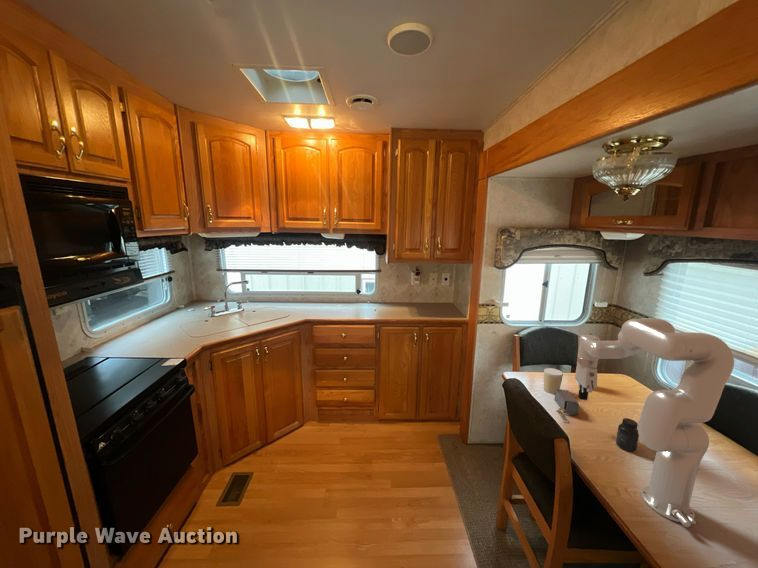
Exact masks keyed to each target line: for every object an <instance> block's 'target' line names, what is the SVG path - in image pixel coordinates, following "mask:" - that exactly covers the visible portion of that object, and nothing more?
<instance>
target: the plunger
mask: <svg viewBox="0 0 758 568" xmlns="http://www.w3.org/2000/svg"><path fill="white" fill-rule="evenodd" d="M579 407H580V404H579V402H578V403H574V402H567V407H566V409H562V408H560V407H558V408H557V410H560V411H562V410H564V411H566V415H574V416H578V414H579Z"/></svg>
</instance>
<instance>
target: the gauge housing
mask: <svg viewBox="0 0 758 568" xmlns="http://www.w3.org/2000/svg"><path fill="white" fill-rule="evenodd" d="M554 401H555V403H556V404H557V406H558V408H562V409H566V407H567V402H574V403H579V401H578V400H577V399H576V398H575V397H574V395H573V394H572V393H571V392H570V391H569V390H567V389H560V390H559V389H556V392H555V394H554ZM555 412H556V414H557V415H558V417H559V418H560V419H561V421H562V422H563V423H567V424H568V423H569V420H568V418H567V417H566V415H565V414H564V413H566V411H564V410H559V409H557V410H555Z"/></svg>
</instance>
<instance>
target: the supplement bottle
mask: <svg viewBox="0 0 758 568" xmlns="http://www.w3.org/2000/svg"><path fill="white" fill-rule="evenodd" d="M638 423H639V422H637V421H635V420H633V419H631V418H628V417H624V418H623V419H622V422H621V423H619V424H618V428H617V433H616V438H615V445H616V446H617V447H619V448H620V449H622V450H623V451H626V452H630V453H634V452H637V449H638V443H639V439H640V437H639V434H638Z"/></svg>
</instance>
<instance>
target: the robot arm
mask: <svg viewBox="0 0 758 568" xmlns="http://www.w3.org/2000/svg"><path fill="white" fill-rule="evenodd" d="M578 340H579V341H578V349H577V358H576V369H575V374H574V375H575V377H574V378H575V380H576V382H578V383H579V386H578V395H577V396H578V397H577V398H578V399H579V400H581V401H582V400H583V401H588V398H589V393H592V392H593V390H597V387H598V368H597V367H598V364H599V363H598V361H599V360H603V359H604V360H606V359H607V360H608V359H609V360H610V359H613V360H616V359H624V358H628V357H632V356H635V355H637V354H639V352H640V351H641V350H643V351H645V352H647V353H649V354H651V355H652V356H654V357H657V358H659V359H662V360H665V361H672V362H681V361H682V362H683V361H684V362H687V361H691V362H692V361H693V363H692V364H691V365H690V366H689V367H687V368H686V369H685V371H683V373H682V375H681V377H680V380H679V383H678V385H677V386H676V388H673V389H659V390H655V391H652V392H650V394H648V396H647V397H646V399H645V401H644V405H643V407H642V411H641V415H640V417H639V419H638V422H637V423H638V426H637V429H638V434H639V439H640V441H641V442H642V444H644V445H645V446H646V447H647V448H648V449H650V450H653V451H655V452H656V453H655V455H654V456H655V457H654V462H653V466H652V469H651V470H652V471H651V475H650V480H649V485H647V486H643V487H642V488H641V493H640V494H641V498H642V499H643V501H644V502H645V503H646V504H647V505H648V506H649V508H651V509H652V510H653V511H654V512H656V513H658V514H659V515H661V516H663V517H664V518H667V519H669V520H671V521H674V522H676V523H680V524H682V525H683V526H684V527H685V528H690V527H691V526H692V525H695V524H697V521H696V520H695V512H694V510H693V509H692V508H691V507H690V503H691V499H692V495H693V491H694V487H695V483H696V479H697V476H698V471H699V467H700V464H701V461H702V459H703V458H704V456H705V454H706V453H707V451H708V449H709V446H710V438H709V434H708V432H707V431H706V430H705V427H703V426H702V425H700V423H701V424H702V423H706V422H709V421H711V419H712V418H713V416H714V414H715V411H716V410H717V407H718V404H719V402H720V399H721V397H722V393H723V391H724V388H725V387H726V384H727V383H728V381H729V378H731V375H732V373H733V370H734V366H735V358H734V354H733V352H732V349H731V348H730V347H729V345H727V343H726V342H725V341H724V340H722V339H721V338H719V337H718V336H715V335H713V334H709V333H704V332H676V328H675V327H674V325H672V323H670V322H669V321H667V320H665V319H661V318H652V317H651V318H650V317H649V318H631V319H628V320H626V321H625V322H624V323H623V324H622V325H621V328H620V331H619V332H618V335H617V340H601V339H600V337H598V336H596V335H594V334H587V333H586V334H582V335H580V336H579V339H578Z"/></svg>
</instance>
